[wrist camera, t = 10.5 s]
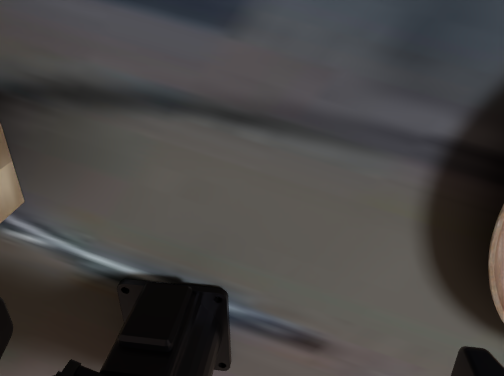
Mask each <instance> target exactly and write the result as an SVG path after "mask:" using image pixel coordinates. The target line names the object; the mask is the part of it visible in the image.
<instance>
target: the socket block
mask: <svg viewBox="0 0 504 376" xmlns="http://www.w3.org/2000/svg"><path fill="white" fill-rule="evenodd" d="M23 203H24V198H23V195H22V192H21V188H20V185H19V182H18V179H17V175H16V172H15V169H14V166H13V162H12V159H11V156H10V152H9V149H8V146H7V143H6V139H5V136H4V133H3V130H2V126H1V123H0V223H1V222H2V221H3V220H5V219H6V218H7V217H8V216H9V215H10V214H11V213H12V212H14V211H15V210H16V209H17V208H18V207H19V206H20V205H21V204H23Z"/></svg>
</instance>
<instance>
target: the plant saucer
mask: <svg viewBox="0 0 504 376" xmlns="http://www.w3.org/2000/svg"><path fill="white" fill-rule="evenodd" d="M488 274H489V284H490V290H491V294H492V298H493V301H494V304H495V307H496V310H497V312H498V314H499V316H500V318H501V320H502V321H503V323H504V204H503V207H502V209H501V211H500V214H499V216H498V219H497V221H496V224H495V228H494V231H493V234H492V238H491V243H490V249H489V264H488Z"/></svg>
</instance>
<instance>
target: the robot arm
mask: <svg viewBox="0 0 504 376" xmlns="http://www.w3.org/2000/svg"><path fill="white" fill-rule="evenodd" d="M125 287H126V288H125ZM127 288H128V289H127ZM117 291H118V296H119V301H120V305H121V310H122V315H123V320H124V325H123V327H122V329H121V331H120V333H119V335H118V338H117V340H116V342H115V344H114V345H113V347H112V349H111V351H110V353H109V355H108V357H107V359H106V361H105V363H104V365H103V367H102V368H101V370H100V372H96V371H94V370H91V369H89V368H86V367H84V366H81V363H79V362H77V361H74V360H72V359H71V360H70V361H69V362H68V364H67V365H66V366H65V368H64V369H63V371H62V372H60V371H58V372H57V374H56V375H54V376H212V374H213V370H221V371H226V370H228V369H229V368H230V364H231V345H230V325H229V304H228V294H227V292H226V291H225V290H223V289H220V288H212V287H201V286H191V285H181V284H170V283H160V282H150V281H139V280H129V279H124V280H122V281H121V282H120V283H119V285H118V287H117ZM216 296H218V297H221V298H217V297H216ZM12 332H13V324H12V321H11V318H10V316H9V313H8V310H7V308H6V305H5V302H4V300H3V299H2V298H1V297H0V358H1V356H2V354H3V352H4V350H5V348H6V346H7V344H8V342H9V340H10V338H11V336H12ZM451 376H504V367H503V366H502V365H501V364H500V363H499V362H498V361H497V360H496V359H495V358H494V357H493V355H492V354H491V353H490V352H489V351H487V350H486V349H483V348H476V347H467V346H464V347H461V348H460V350H459V352H458V355H457V358H456V361H455V364H454V367H453V371H452V374H451Z"/></svg>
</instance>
